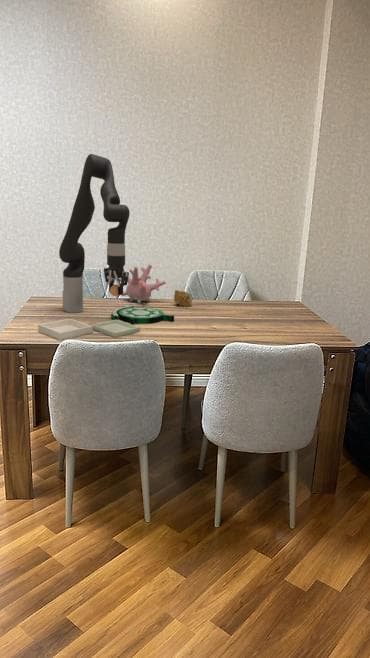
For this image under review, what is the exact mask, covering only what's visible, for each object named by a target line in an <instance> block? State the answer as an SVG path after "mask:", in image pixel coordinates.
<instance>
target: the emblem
mask: <svg viewBox="0 0 370 658" xmlns="http://www.w3.org/2000/svg"><path fill="white" fill-rule="evenodd" d="M134 306H135V305H127V306H126V305H125V306H122V307H118V308H115V309H113V310H112V313H111V314H110V315H111V316H110V317H111V318H110V320H119V321H122V322H125V323H128V324H132V325H137V324H138V325H151V324H157V323H160V322H169V323H172V322H173V323H174V322H175V315H173V314H170V315H169V314H165V313H164V312H163V311H162V310H160V309H158V308H154V307H146V306H145V307H144V306H135V307H134Z"/></svg>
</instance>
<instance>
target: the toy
mask: <svg viewBox="0 0 370 658" xmlns="http://www.w3.org/2000/svg"><path fill="white" fill-rule="evenodd" d="M152 266H153V265H151V264H148V266H147V267H146V268H144V267H143V266H142V267H141V268H140V270H141V272H142V273H141V276H139V268H138V266H134V269H133V270H132V269H131V268H130V269H129V271H128V272H129V273H130V274H131V275H132V277H130V276H129V277H128V282H127V285H126V290H125V291H123V295H121V296H122V297H125V296H128V297H129V302H131V303H132V302H133V301H136V303H137V304H141V303H142V302H143V301H146V302H149V301H150V297H151V295H152V292H153V291H154V290H156V291H160V289H159V288H160V287H161V286H163V285H165V284H167V283H166V281H165V280H163V281H160V280H159V278H157V279H156V280H155V283H152V284H148V283H147V280H150V279H152V276H151V275H150V272H151V270H152Z"/></svg>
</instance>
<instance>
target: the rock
mask: <svg viewBox="0 0 370 658" xmlns="http://www.w3.org/2000/svg"><path fill="white" fill-rule="evenodd" d="M173 299H174V300H173V301H174V303H175V304H176V305H179V306H180V307H183V308H184V307H185V308H186V307H187V308H188V307H191V305H192V303H193V300H192V298H191V297H190V293H189V292H187V291H183V290H178V289H175V291H174V295H173Z"/></svg>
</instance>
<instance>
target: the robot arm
mask: <svg viewBox="0 0 370 658" xmlns="http://www.w3.org/2000/svg"><path fill="white" fill-rule="evenodd" d="M92 178H96V179H99V180H103V181H104V182H103V183H102V184H101V186H100V189H99V193H100V197H101V199H102V203H103V211H102V214H103V218H104V220H105V221H106V222H109V223H118V224H117V226H114V227H111V228H108V229H107V247H106V265H107V266H108V267H105V268H103V275H104V281H105V283H107V285H108V291H109V294H111V293H110V288H111V287H112V286H113V285H115V281H116V283H117V285H118V295H119V296H122V295H123V293H124V287H125V286H128V277H129V278H130V276H129V275H130V271H125V269H124V267H125V266H126V240H125V239H126V238H125V237H126V230H127V226H128V222H129V218H130V215H131V214H130V208H129V207H128V205H126V204H121V198H120V195H119V193H118V190H117V188H116V184H115V175H114V169H113V165H112V162H111V160H110V159H108V158H106V157H103V156H100V155H97V154H94V153H90V154H88V155H87V156H86V158H85V161H84V166H83V170H82V174H81V178H80V179H81V180H80V184H79V188H78V191H77V195H76V199H75V201H74V203H73V204H74V205H73V207H72V212H71V214H70V215H71V216H70V219H69V223H68V225H67V228H66V231H65V234H64V236H63V239H62V242H61V244H60V247H59V251H58V254H59V255H58V256H59V258H60V260H61V262H63V263H65V264H68V265H67V267H65V268H64V269H63V271H62V277H63V278H62V283H63V285H62V288H63V289H62V311H64V312H65V313H69V314H71V313H72V314H74V313H82V312H83V311H84V285H83V284H84V278H83V277H84V275H83V274H84V271H85V260H86V259H85V258H86V257H85V255H86V253H85V248H84V246H83V244H81V243H79V240H80V237H81V235H82V234H83V233H84V231H86V229H87V227H89V224H91V222H92V219H93V217H94V212H95V209H96V205H95V201H94V197H93V194H92V190H91V182H92Z"/></svg>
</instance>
